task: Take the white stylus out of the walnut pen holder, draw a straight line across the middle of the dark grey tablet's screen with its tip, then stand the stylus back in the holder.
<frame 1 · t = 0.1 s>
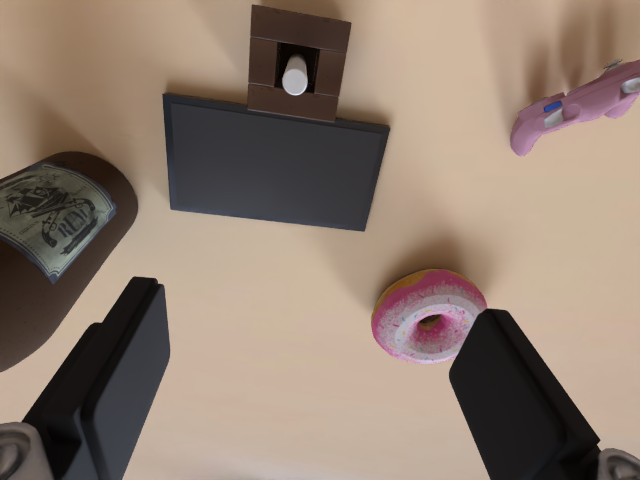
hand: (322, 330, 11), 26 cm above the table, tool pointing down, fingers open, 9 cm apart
stylus: (296, 70, 25), in the pen holder
rum bottle: (91, 195, 36), on the table
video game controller: (555, 104, 33), on the table
tablet: (275, 167, 35), on the table
donut: (422, 303, 45), on the table
pen holder: (297, 62, 30), on the table
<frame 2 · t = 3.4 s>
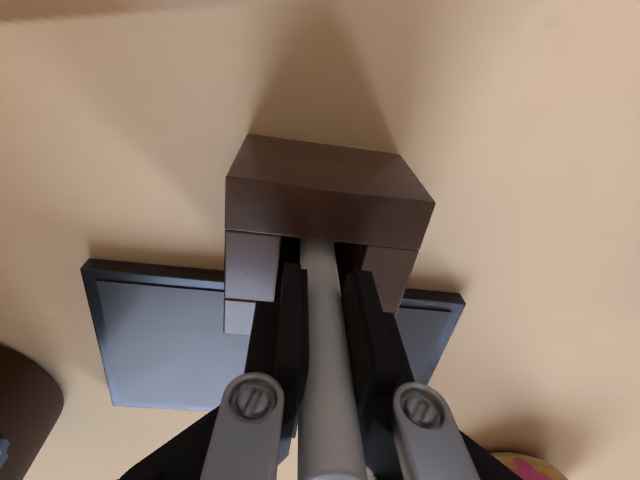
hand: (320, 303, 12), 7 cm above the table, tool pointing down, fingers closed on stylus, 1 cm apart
stylus: (320, 293, 12), in the pen holder, touching gripper
tablet: (276, 347, 22), on the table
donut: (481, 479, 32), on the table
pen holder: (314, 213, 17), on the table
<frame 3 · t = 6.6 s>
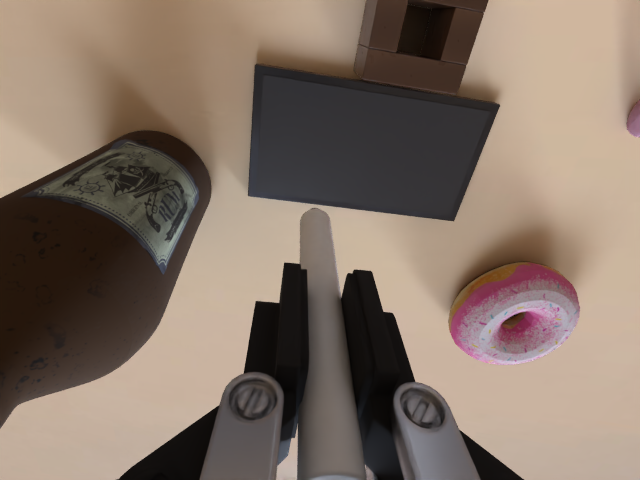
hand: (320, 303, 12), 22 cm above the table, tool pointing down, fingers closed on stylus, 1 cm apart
stylus: (319, 293, 12), point 22 cm above the table, touching gripper
rum bottle: (161, 180, 33), on the table
tablet: (365, 149, 32), on the table
donut: (501, 300, 42), on the table
pen holder: (406, 29, 27), on the table
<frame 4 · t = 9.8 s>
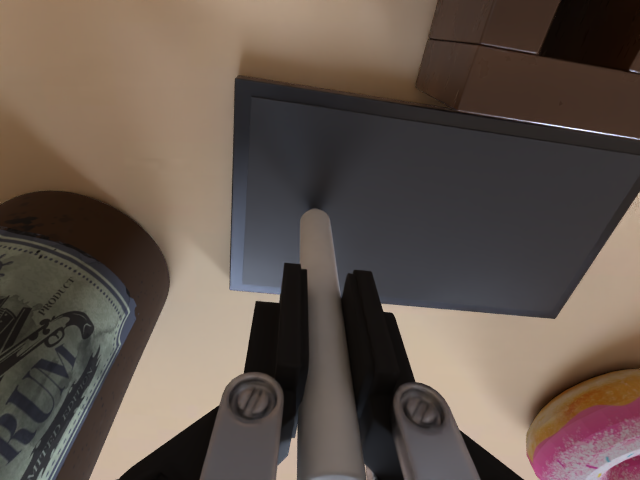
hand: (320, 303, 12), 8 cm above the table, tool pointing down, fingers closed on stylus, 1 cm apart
stylus: (319, 294, 12), point 7 cm above the table, touching gripper
rum bottle: (87, 265, 20), on the table
tablet: (424, 216, 19), on the table
donut: (598, 408, 29), on the table
pen holder: (519, 10, 14), on the table
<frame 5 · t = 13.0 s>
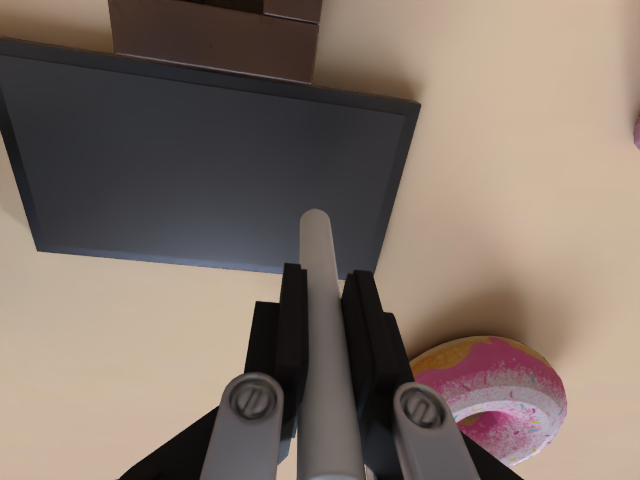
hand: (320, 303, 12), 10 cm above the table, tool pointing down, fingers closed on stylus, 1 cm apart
stylus: (319, 294, 12), point 9 cm above the table, touching gripper
tablet: (216, 178, 20), on the table
donut: (458, 379, 30), on the table
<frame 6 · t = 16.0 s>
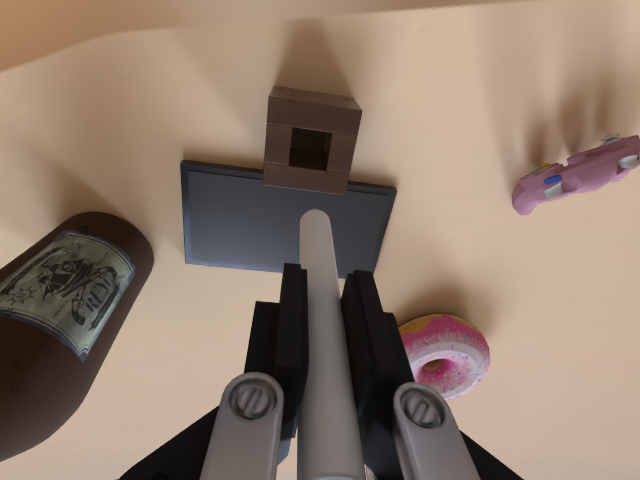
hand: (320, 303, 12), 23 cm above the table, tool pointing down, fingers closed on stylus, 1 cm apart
stylus: (319, 294, 12), point 22 cm above the table, touching gripper
rum bottle: (109, 250, 37), on the table
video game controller: (555, 167, 34), on the table
tablet: (286, 224, 36), on the table
donut: (426, 343, 46), on the table
pen holder: (308, 132, 31), on the table
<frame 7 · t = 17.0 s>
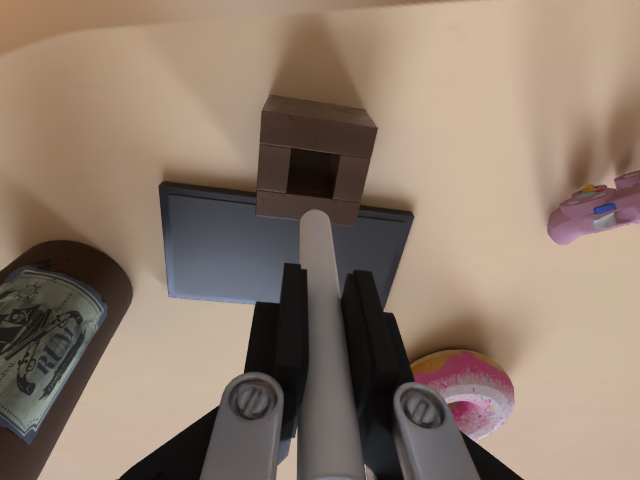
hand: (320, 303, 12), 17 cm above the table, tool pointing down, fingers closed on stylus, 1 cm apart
stylus: (319, 295, 12), point 17 cm above the table, touching gripper
rum bottle: (81, 281, 32), on the table
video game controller: (598, 188, 29), on the table
tablet: (285, 253, 31), on the table
donut: (442, 378, 42), on the table
pen holder: (311, 149, 26), on the table
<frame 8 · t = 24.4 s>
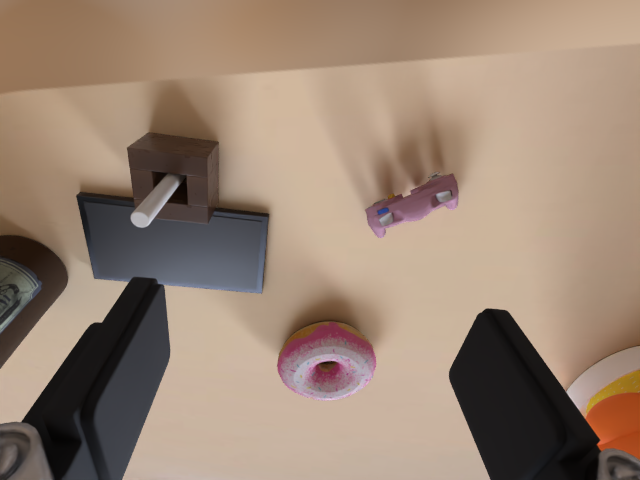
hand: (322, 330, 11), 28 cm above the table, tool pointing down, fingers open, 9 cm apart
potted cactus: (601, 388, 60), on the table
stylus: (166, 188, 32), in the pen holder
rum bottle: (28, 267, 43), on the table
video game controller: (405, 196, 40), on the table
tablet: (180, 245, 42), on the table
donut: (326, 347, 52), on the table
pen holder: (185, 169, 37), on the table
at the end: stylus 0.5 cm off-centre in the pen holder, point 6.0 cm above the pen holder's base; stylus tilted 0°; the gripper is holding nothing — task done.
